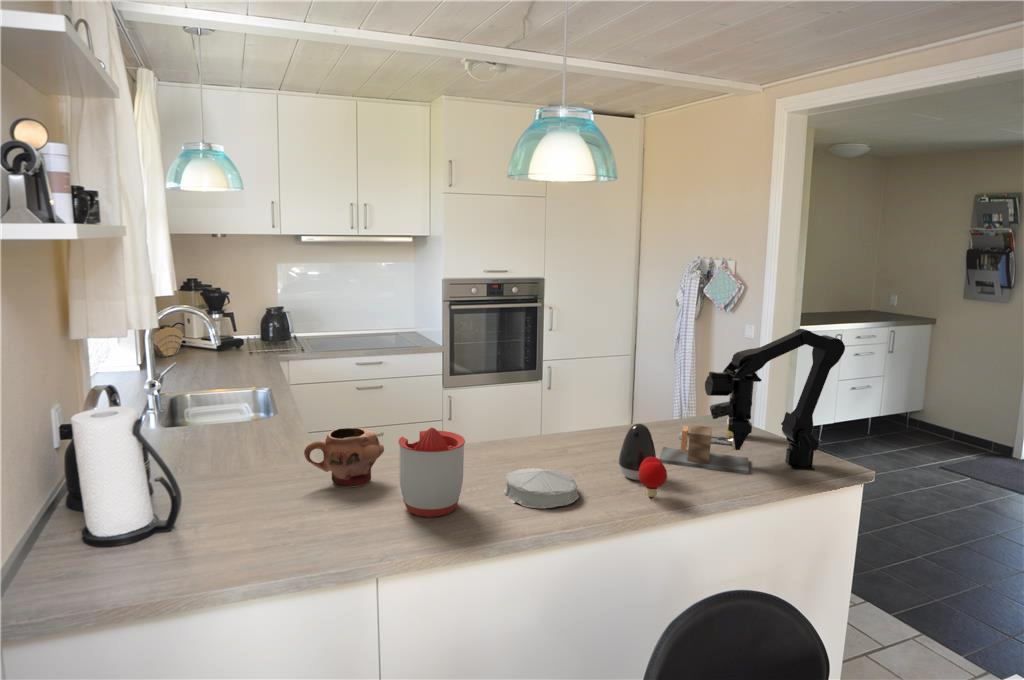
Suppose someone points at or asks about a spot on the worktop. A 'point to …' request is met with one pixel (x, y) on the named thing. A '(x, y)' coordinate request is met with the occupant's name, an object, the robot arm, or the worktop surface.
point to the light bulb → (652, 475)
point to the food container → (540, 488)
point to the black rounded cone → (635, 450)
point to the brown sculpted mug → (348, 455)
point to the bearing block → (703, 454)
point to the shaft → (719, 441)
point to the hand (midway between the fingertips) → (737, 447)
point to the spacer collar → (684, 439)
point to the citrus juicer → (431, 472)
